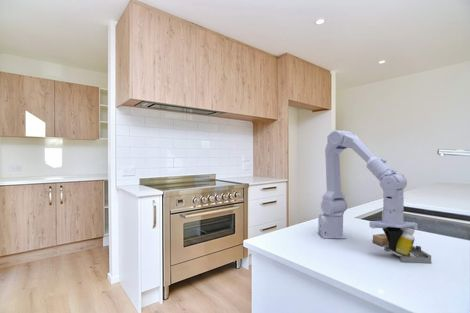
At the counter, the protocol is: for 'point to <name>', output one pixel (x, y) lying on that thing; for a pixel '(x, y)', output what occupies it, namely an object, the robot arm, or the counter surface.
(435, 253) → the counter surface
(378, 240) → the tan cardboard box
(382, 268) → the counter surface
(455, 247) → the counter surface
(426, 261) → the steel cradle
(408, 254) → the supplement bottle
